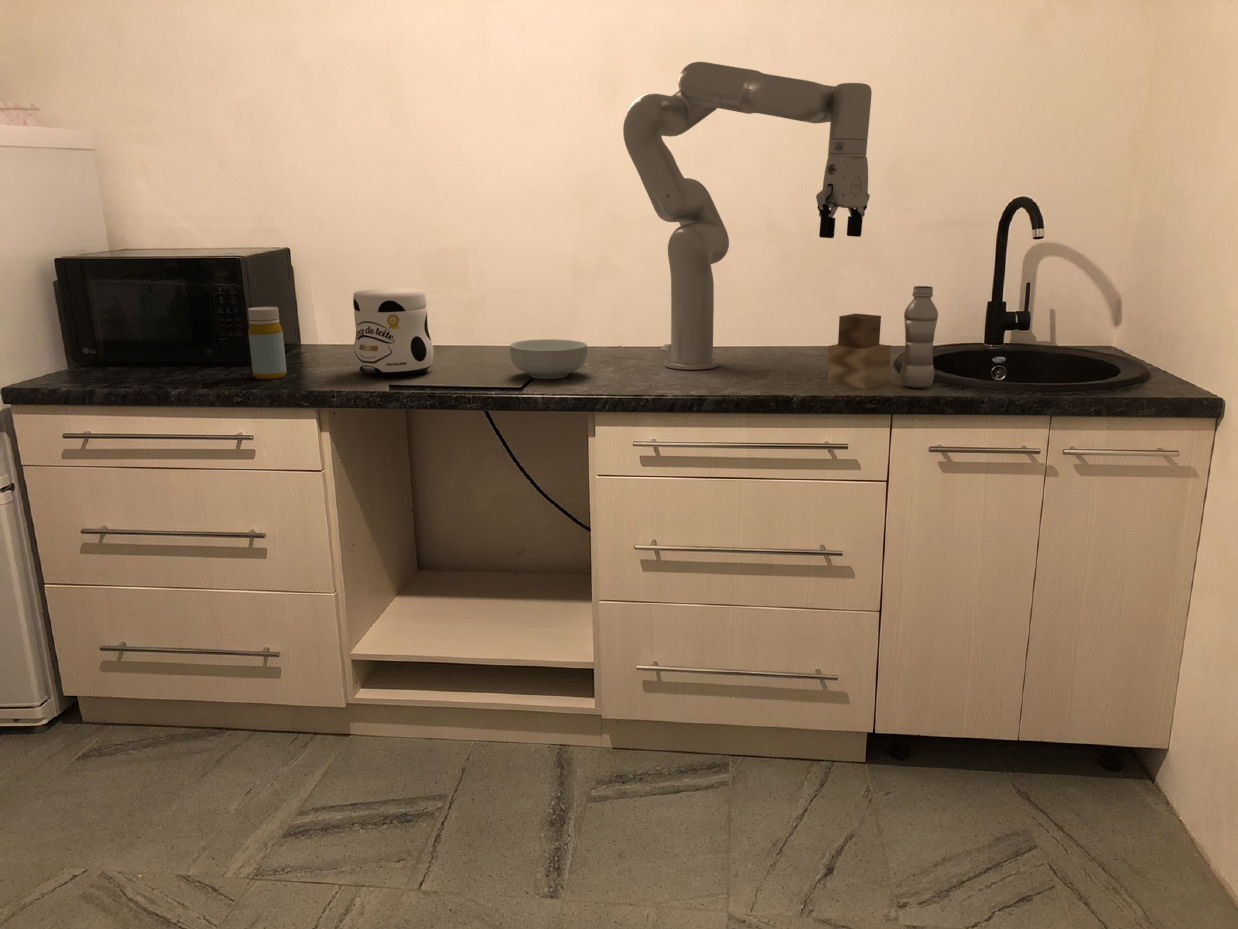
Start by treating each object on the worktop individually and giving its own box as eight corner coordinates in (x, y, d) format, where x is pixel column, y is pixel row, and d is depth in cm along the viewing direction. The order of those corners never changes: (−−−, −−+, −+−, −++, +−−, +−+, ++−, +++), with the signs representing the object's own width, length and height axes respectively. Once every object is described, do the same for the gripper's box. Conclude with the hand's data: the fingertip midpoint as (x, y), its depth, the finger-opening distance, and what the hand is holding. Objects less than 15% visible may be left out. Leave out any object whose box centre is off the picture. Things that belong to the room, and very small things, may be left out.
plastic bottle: (916, 391, 195) (923, 289, 189) (892, 386, 200) (898, 286, 195) (940, 388, 197) (948, 287, 192) (916, 383, 203) (923, 284, 198)
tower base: (827, 384, 205) (828, 365, 204) (851, 378, 211) (852, 359, 210) (865, 390, 199) (866, 370, 198) (889, 383, 205) (890, 364, 204)
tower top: (827, 365, 204) (828, 345, 203) (852, 359, 210) (853, 340, 209) (865, 370, 198) (866, 350, 197) (889, 364, 204) (891, 345, 202)
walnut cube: (838, 345, 203) (839, 316, 201) (853, 342, 207) (855, 313, 206) (863, 348, 199) (865, 318, 197) (879, 345, 203) (881, 315, 201)
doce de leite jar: (351, 382, 211) (344, 296, 206) (359, 368, 227) (352, 288, 222) (433, 379, 213) (428, 294, 208) (435, 365, 230) (431, 287, 225)
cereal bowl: (578, 384, 206) (577, 350, 204) (501, 382, 209) (499, 349, 207) (594, 370, 222) (594, 338, 220) (523, 368, 225) (521, 337, 223)
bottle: (293, 374, 219) (286, 306, 215) (273, 380, 213) (265, 310, 209) (267, 373, 222) (260, 305, 218) (246, 378, 215) (238, 309, 211)
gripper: (838, 148, 189) (831, 239, 194) (887, 150, 201) (879, 236, 206) (806, 148, 194) (800, 237, 199) (855, 150, 206) (848, 234, 211)
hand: (840, 236), depth 202 cm, fingers open, 9 cm apart
